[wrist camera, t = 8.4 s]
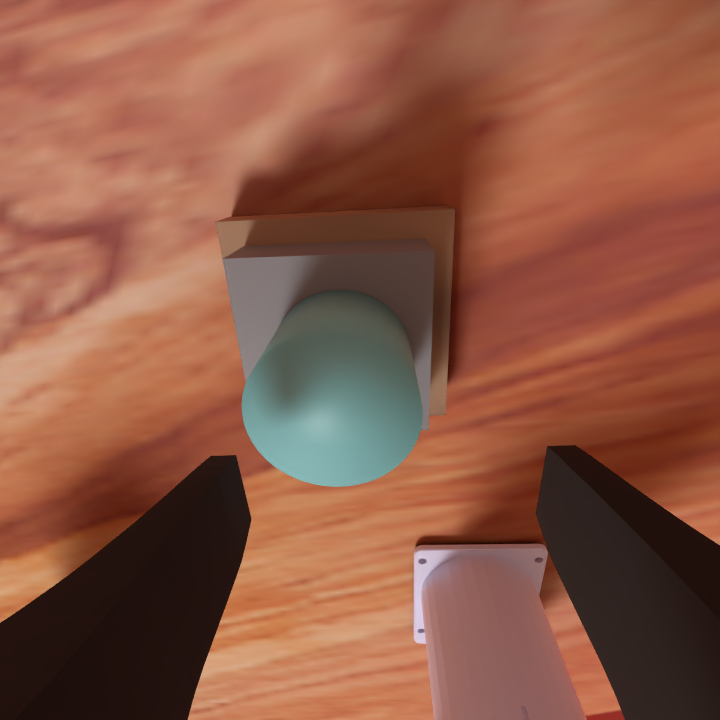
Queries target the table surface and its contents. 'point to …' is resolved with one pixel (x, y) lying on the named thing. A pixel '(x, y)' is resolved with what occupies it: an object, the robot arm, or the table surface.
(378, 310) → the teal domed cylinder
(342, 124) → the table surface
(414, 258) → the tower top
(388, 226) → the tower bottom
